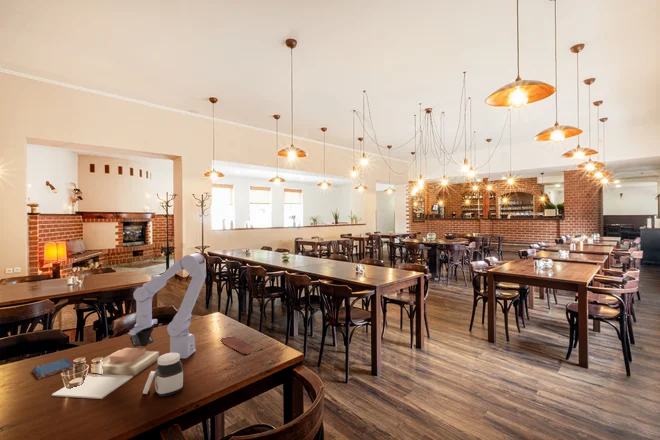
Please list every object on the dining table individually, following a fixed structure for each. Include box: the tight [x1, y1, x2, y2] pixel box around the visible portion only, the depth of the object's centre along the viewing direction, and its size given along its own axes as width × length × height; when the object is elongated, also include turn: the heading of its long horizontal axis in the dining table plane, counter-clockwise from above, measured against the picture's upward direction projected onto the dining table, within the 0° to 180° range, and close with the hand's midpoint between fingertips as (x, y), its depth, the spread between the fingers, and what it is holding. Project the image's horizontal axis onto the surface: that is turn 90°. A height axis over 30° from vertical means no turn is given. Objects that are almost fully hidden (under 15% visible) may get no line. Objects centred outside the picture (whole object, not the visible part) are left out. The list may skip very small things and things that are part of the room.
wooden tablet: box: [220, 336, 254, 355], centre depth 145 cm, size 27×10×2 cm, turn 48°
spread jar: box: [142, 352, 184, 397], centre depth 105 cm, size 12×11×12 cm
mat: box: [51, 372, 134, 400], centre depth 109 cm, size 18×14×1 cm
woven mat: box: [31, 358, 74, 380], centre depth 120 cm, size 10×11×2 cm
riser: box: [102, 349, 160, 377], centre depth 124 cm, size 18×14×3 cm
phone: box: [130, 334, 154, 347], centre depth 151 cm, size 8×1×15 cm
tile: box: [110, 347, 147, 362], centre depth 125 cm, size 9×8×2 cm
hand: (144, 345), depth 134 cm, fingers closed
